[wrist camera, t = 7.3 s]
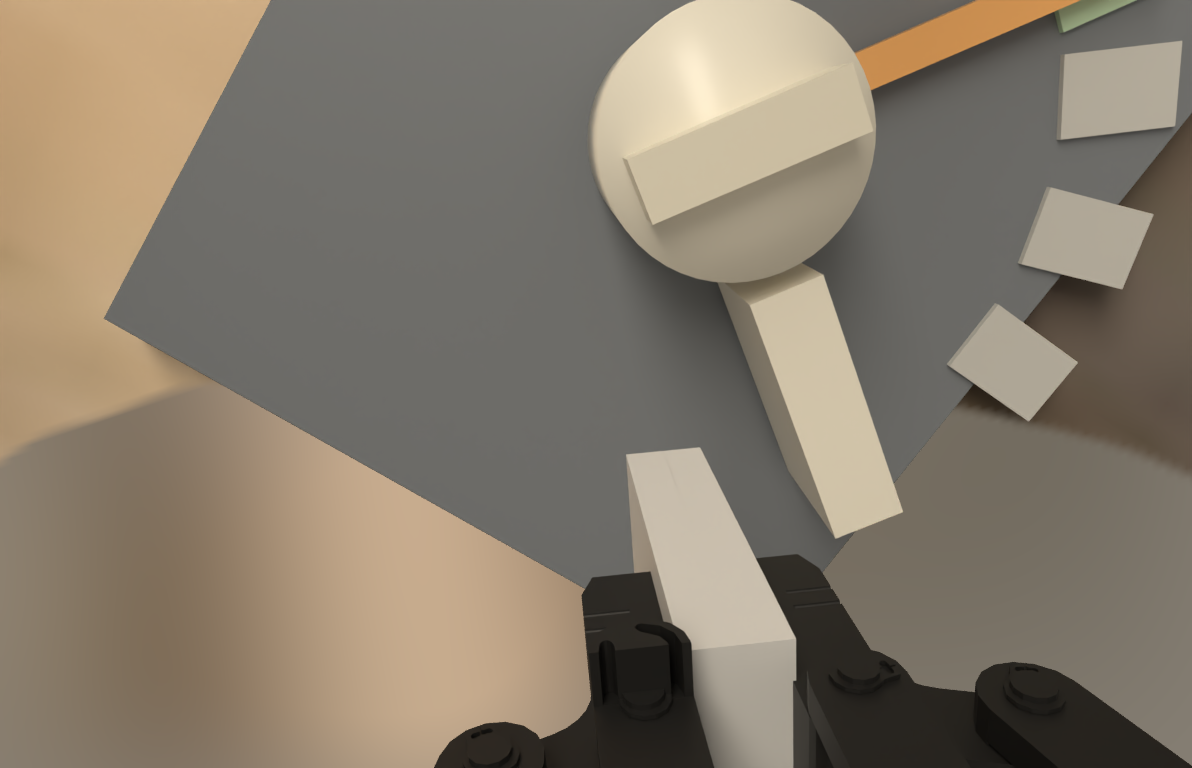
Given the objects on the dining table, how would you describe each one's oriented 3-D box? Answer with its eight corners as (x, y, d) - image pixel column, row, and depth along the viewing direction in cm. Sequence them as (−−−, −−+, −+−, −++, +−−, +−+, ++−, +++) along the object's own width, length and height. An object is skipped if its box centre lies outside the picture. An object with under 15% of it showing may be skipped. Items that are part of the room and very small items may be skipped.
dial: (721, 492, 26) (772, 600, 20) (552, 75, 22) (553, 58, 17) (1211, 295, 25) (1416, 348, 19) (1119, -175, 21) (1338, -289, 16)
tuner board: (129, 307, 25) (100, 320, 23) (631, -638, 20) (638, -707, 18) (778, 676, 30) (791, 707, 28) (1325, 5, 24) (1381, -4, 23)
